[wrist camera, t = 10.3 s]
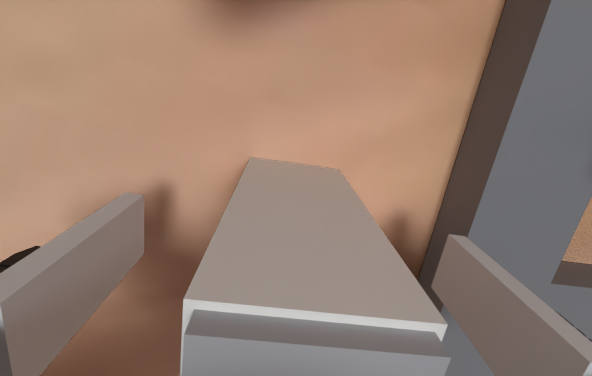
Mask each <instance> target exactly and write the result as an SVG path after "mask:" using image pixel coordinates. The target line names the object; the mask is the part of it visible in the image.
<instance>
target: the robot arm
mask: <svg viewBox="0 0 592 376" xmlns="http://www.w3.org/2000/svg"><path fill="white" fill-rule="evenodd" d="M143 255H144V195H140V194H132V193H123V194H122V195H120V196H119V197H117V198H116V199H114V200H113V201H111V202H110V203H108V204H106V205H105V206H103V207H102V208H100V209H99V210H97V211H96V212H94V213H93V214H91V215H89V216H88V217H86V218H85V219H83V220H82V221H80V222H79V223H77V224H76V225H74V226H73V227H71V228H69V229H68V230H66V231H65V232H63V233H62V234H60V235H59V236H57V237H56V238H54V239H52V240H51V241H49V242H48V243H46V244H45V245H43V246H42V247H40V246H34V247H32V248H29V249H26V250H24V251H21V252H18V253H16V254H14V255H12V256H10V257H9V258H7V259H5V260H4V261H2V262H0V376H40V375H41V374H42V372H43V371H44V370H45V369H46V368H47V367H48V365H49V364H50V363H51V362H52V361H53V360H54V358H55V357H56V356H57V355H58V354H59V353H60V351H61V350H62V349H63V348H64V347H65V346H66V344H67V343H68V342H69V341H70V340H71V339H72V337H73V336H74V335H75V334H76V333H77V332H78V330H79V329H80V328H81V327H82V326H83V325H84V323H85V322H86V321H87V320H88V319H89V318H90V316H91V315H92V314H93V313H94V312H95V311H96V309H97V308H98V307H99V306H100V305H101V304H102V302H103V301H104V300H105V299H106V298H107V297H108V295H109V294H110V293H111V292H112V291H113V290H114V288H115V287H116V286H117V285H118V284H119V283H120V282H121V280H122V279H123V278H124V277H125V276H126V275H127V273H128V272H129V271H130V270H131V269H132V268H133V266H134V265H135V264H136V263H137V262H138V261H139V259H140V258H141V257H142V256H143ZM431 287H432V289H433V290H434V292H435V293H436V294H437V296H438V297H439V298H440V300H441V301H442V303H443V304H444V305H445V307H446V308H447V310H448V311H449V312H450V314H451V315H452V316H453V318H454V319H455V321H456V322H457V323H458V325H459V326H460V328H461V329H462V330H463V332H464V333H465V334H466V336H467V337H468V339H469V340H470V341H471V343H472V344H473V346H474V347H475V348H476V350H477V351H478V352H479V354H480V355H481V357H482V358H483V359H484V361H485V362H486V364H487V365H488V366H489V368H490V369H491V370H492V372H493V373H494V375H495V376H592V340H591V339H589V338H586V335H585V334H583V333H582V332H581V331H580V330H579V329H577V328H574V325H573V324H571V323H570V322H569V321H568V320H567V319H565V318H564V317H563V316H562V315H561V314H559V313H558V312H556V311H555V310H553V309H552V308H551V307H549V306H548V305H547V304H546V303H545V302H543V301H542V300H541V299H540V298H539V297H537V296H536V295H535V294H534V293H533V292H531V291H530V290H529V289H528V288H527V287H525V286H524V285H523V284H522V283H521V282H519V281H518V280H517V279H516V278H515V277H513V276H512V275H511V274H510V273H509V272H507V271H506V270H505V269H504V268H503V267H501V266H500V265H499V264H498V263H497V262H495V261H494V260H493V259H492V258H491V257H489V256H488V255H487V254H486V253H485V252H483V251H482V250H481V249H480V248H479V247H477V246H476V245H475V244H474V243H473V242H471V241H470V240H469V239H468V238H467V237H465V236H459V235H451V234H449V235H448V238H447V241H446V244H445V247H444V250H443V253H442V256H441V259H440V262H439V265H438V268H437V271H436V274H435V276H434V279H433V282H432V285H431Z"/></svg>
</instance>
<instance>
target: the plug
mask: <svg viewBox="0 0 592 376" xmlns="http://www.w3.org/2000/svg"><path fill="white" fill-rule="evenodd" d="M447 326H448V324H447V323H446V321H445V320H444V318H443V317H442V315H441V314H440V313H439V311H438V310H437V308H436V307H435V305H434V304H433V303H432V301H431V300H430V298H429V297H428V295H427V294H426V293H425V291H424V290H423V288H422V287H421V285H420V284H419V283H418V281H417V280H416V278H415V277H414V275H413V274H412V273H411V271H410V270H409V268H408V267H407V265H406V264H405V263H404V261H403V260H402V258H401V257H400V255H399V254H398V253H397V251H396V250H395V248H394V247H393V245H392V244H391V243H390V241H389V240H388V238H387V237H386V235H385V234H384V233H383V231H382V230H381V228H380V227H379V225H378V224H377V222H376V221H375V220H374V218H373V217H372V215H371V214H370V212H369V211H368V210H367V208H366V207H365V205H364V204H363V202H362V201H361V200H360V198H359V197H358V195H357V194H356V192H355V191H354V190H353V188H352V187H351V185H350V184H349V182H348V181H347V180H346V178H345V177H344V175H343V174H342V172H341V171H340V170H339V169H335V168H328V167H320V166H313V165H306V164H299V163H292V162H284V161H277V160H270V159H263V158H255V157H250V159H249V161H248V164H247V166H246V168H245V170H244V172H243V174H242V176H241V178H240V180H239V183H238V185H237V187H236V189H235V191H234V193H233V195H232V197H231V199H230V202H229V204H228V206H227V208H226V210H225V212H224V214H223V216H222V218H221V221H220V223H219V225H218V227H217V229H216V231H215V233H214V235H213V237H212V240H211V242H210V244H209V246H208V248H207V250H206V252H205V254H204V256H203V259H202V261H201V263H200V265H199V267H198V269H197V271H196V273H195V275H194V278H193V280H192V282H191V284H190V286H189V288H188V290H187V292H186V294H185V297H184V299H183V318H182V339H181V361H180V376H444V375H445V373H446V370H447V367H448V365H449V362H450V360H451V357H450V355H449V353H448V352H447V350H446V349H445V347H444V345H443V344H442V339H443V336H444V334H445V331H446V328H447Z"/></svg>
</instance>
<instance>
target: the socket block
mask: <svg viewBox="0 0 592 376" xmlns="http://www.w3.org/2000/svg"><path fill="white" fill-rule="evenodd" d="M591 196H592V0H506V3H505V6H504V9H503V12H502V16H501V19H500V22H499V25H498V28H497V31H496V35H495V38H494V41H493V44H492V47H491V50H490V54H489V57H488V60H487V63H486V66H485V69H484V73H483V76H482V79H481V82H480V85H479V88H478V92H477V95H476V98H475V101H474V104H473V108H472V111H471V114H470V117H469V120H468V123H467V127H466V130H465V133H464V136H463V139H462V142H461V146H460V149H459V152H458V155H457V158H456V161H455V165H454V168H453V171H452V174H451V177H450V180H449V184H448V187H447V190H446V193H445V196H444V199H443V203H442V206H441V209H440V212H439V215H438V218H437V222H436V225H435V228H434V231H433V234H432V237H431V241H430V244H429V247H428V250H427V253H426V257H425V260H424V263H423V266H422V269H421V272H420V276H419V279H418V283H419V284H420V285H421V287H422V288H423V290H424V291H425V293H426V294H427V295H428V297H429V298H430V300H431V301H432V303H433V304H434V305H435V307H436V308H437V310H438V311H439V313H440V314H441V315H442V317H443V318H444V320H445V321H446V323H447V324H448V326H447V328H446V331H445V334H444V336H443V339H442V344H443V345H444V347H445V349H446V350H447V352H448V353H449V355H450V357H451V360H450V362H449V365H448V367H447V370H446V373H445V375H444V376H495V375H494V373H493V372H492V370H491V369H490V368H489V366H488V365H487V364H486V362H485V361H484V359H483V358H482V357H481V355H480V354H479V352H478V351H477V350H476V348H475V347H474V346H473V344H472V343H471V341H470V340H469V339H468V337H467V336H466V334H465V333H464V332H463V330H462V329H461V328H460V326H459V325H458V323H457V322H456V321H455V319H454V318H453V316H452V315H451V314H450V312H449V311H448V310H447V308H446V307H445V305H444V304H443V303H442V301H441V300H440V298H439V297H438V296H437V294H436V293H435V292H434V290H433V289H432V287H431V285H432V282H433V279H434V276H435V274H436V271H437V268H438V265H439V262H440V259H441V256H442V253H443V250H444V247H445V244H446V241H447V238H448V235H449V234H451V235H459V236H465V237H467V238H468V239H469V240H470V241H471V242H473V243H474V244H475V245H476V246H477V247H479V248H480V249H481V250H482V251H483V252H485V253H486V254H487V255H488V256H489V257H491V258H492V259H493V260H494V261H495V262H497V263H498V264H499V265H500V266H501V267H503V268H504V269H505V270H506V271H507V272H509V273H510V274H511V275H512V276H513V277H515V278H516V279H517V280H518V281H519V282H521V283H522V284H523V285H524V286H525V287H527V288H528V289H529V290H530V291H531V292H533V293H534V294H535V295H536V296H537V297H539V298H540V299H541V300H542V301H543V302H545V303H546V304H547V305H548V306H549V307H551V308H552V309H553V310H555V311H556V312H558V313H559V314H561V315H562V316H563V317H564V318H565V319H567V320H568V321H569V322H570V323H571V324H573V325H574V328H577V329H579V330H580V331H581V332H582V333H583V334H585V335H586V338H589V339H591V340H592V265H590V264H582V263H573V262H565V261H561V260H562V258H563V256H564V254H565V252H566V249H567V247H568V245H569V243H570V241H571V239H572V237H573V235H574V232H575V230H576V228H577V226H578V224H579V222H580V220H581V218H582V215H583V213H584V211H585V209H586V207H587V205H588V203H589V201H590V198H591Z"/></svg>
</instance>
